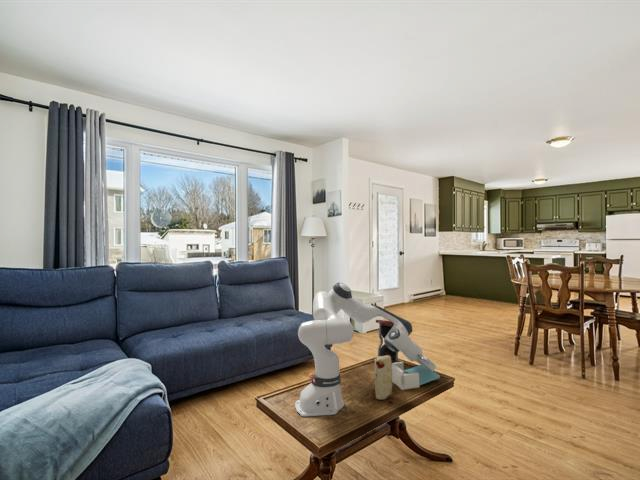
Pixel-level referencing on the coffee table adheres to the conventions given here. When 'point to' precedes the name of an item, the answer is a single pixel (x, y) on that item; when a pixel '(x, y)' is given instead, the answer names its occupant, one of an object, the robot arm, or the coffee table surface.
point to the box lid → (423, 374)
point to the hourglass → (383, 330)
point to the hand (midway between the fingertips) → (430, 368)
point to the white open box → (404, 377)
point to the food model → (383, 377)
